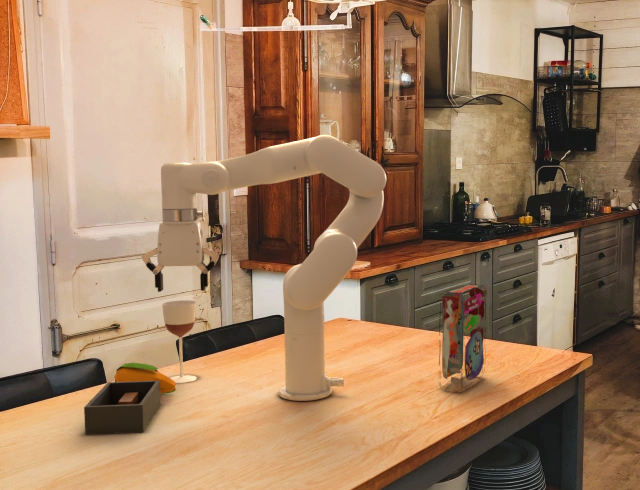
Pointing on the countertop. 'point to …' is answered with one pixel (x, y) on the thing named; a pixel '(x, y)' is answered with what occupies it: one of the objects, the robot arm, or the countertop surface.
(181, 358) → the wineglass
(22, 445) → the countertop surface
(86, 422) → the bin
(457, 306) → the box
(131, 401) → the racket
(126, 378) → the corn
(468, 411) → the countertop surface
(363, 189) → the robot arm
